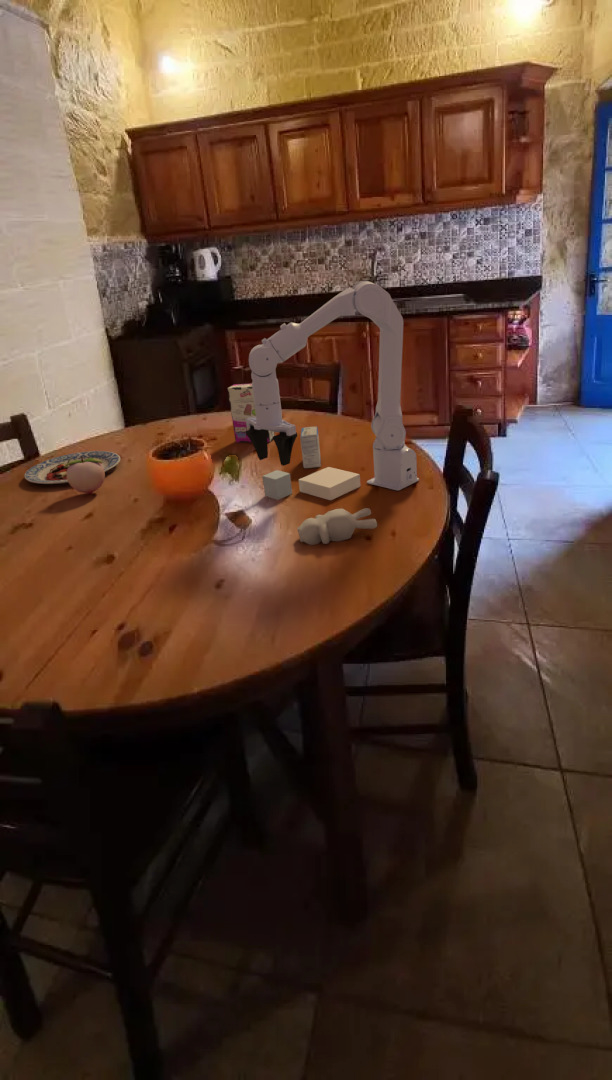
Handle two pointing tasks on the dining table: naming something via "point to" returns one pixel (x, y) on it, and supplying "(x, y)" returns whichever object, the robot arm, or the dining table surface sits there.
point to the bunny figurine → (334, 526)
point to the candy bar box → (243, 411)
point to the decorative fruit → (85, 474)
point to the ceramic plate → (55, 470)
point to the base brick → (329, 483)
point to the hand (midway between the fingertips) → (274, 461)
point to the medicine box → (310, 447)
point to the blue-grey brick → (277, 484)
